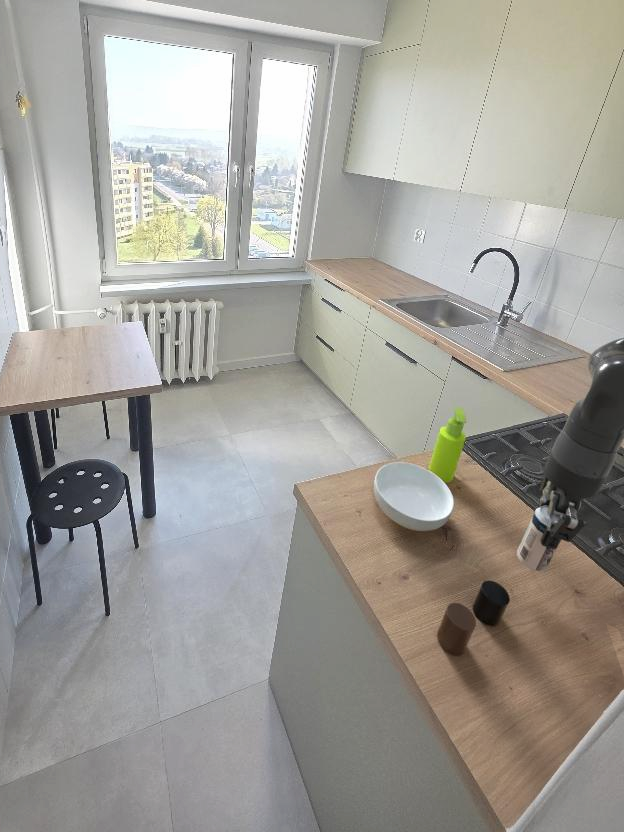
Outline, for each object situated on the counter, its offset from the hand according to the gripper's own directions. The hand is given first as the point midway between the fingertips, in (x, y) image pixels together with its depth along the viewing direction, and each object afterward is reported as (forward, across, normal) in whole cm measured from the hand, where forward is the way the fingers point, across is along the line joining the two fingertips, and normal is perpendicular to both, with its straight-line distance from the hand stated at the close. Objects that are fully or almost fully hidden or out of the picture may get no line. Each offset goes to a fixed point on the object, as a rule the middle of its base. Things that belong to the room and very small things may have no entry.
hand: (544, 533), depth 75 cm
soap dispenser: (+16, +26, +14) cm, 33 cm away
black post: (+15, -8, +6) cm, 18 cm away
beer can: (+8, 0, 0) cm, 8 cm away
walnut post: (+15, -16, +12) cm, 25 cm away
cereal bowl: (+16, +10, +21) cm, 28 cm away
